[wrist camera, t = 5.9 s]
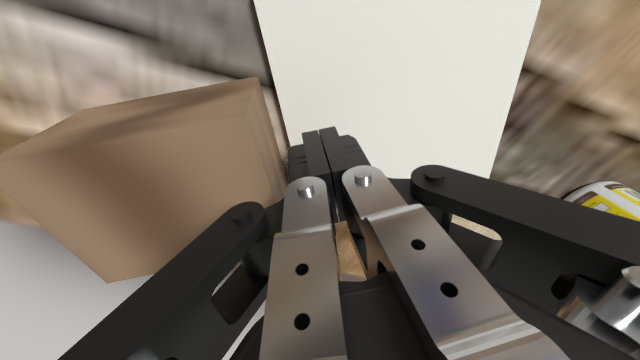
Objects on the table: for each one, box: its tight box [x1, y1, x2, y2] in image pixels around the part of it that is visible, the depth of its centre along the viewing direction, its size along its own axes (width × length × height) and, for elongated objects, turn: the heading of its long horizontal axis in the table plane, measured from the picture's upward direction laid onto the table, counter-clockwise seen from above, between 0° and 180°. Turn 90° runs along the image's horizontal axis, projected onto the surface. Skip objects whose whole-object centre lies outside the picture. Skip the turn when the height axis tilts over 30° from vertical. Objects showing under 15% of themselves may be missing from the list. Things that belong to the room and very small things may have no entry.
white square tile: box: [254, 0, 541, 213], centre depth 13 cm, size 12×12×1 cm
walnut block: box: [0, 76, 288, 283], centre depth 11 cm, size 8×6×5 cm
